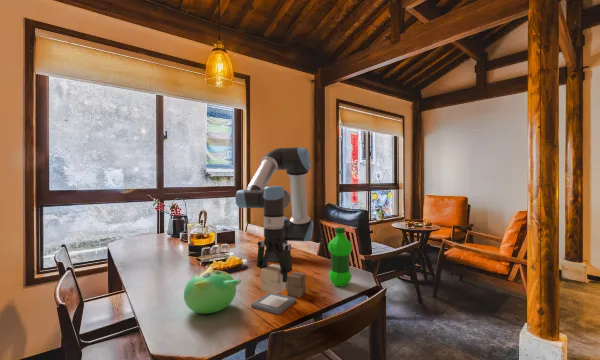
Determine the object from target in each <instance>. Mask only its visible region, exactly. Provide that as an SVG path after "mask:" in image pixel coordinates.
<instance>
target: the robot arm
mask: <svg viewBox="0 0 600 360" xmlns="http://www.w3.org/2000/svg"><path fill="white" fill-rule="evenodd" d="M311 162H312V161H311V154H310V152H309V149H308V148H307V147H298V146H297V147H277V148H274V149H272V150H270V151H269V152H267V153H266V154H265V155H264V156H263V157H262V158H261V160H260V161H259V167H258V169H257V170H256V171H255V173H254V175H253V177H252V178H251V180H250V182H249V184H248V185H247V187H246V188H245V189H239V190H237V191H236V193H235V204H236V206H237V208H243V209H263V227H264V228H263V238H264V240H260V241H258V242H257V248H258V249H257V259H256V268H259V269H260V270H261V269H263V268H265V267H267V266H269V265H268V264H269V262H271V263H272V262H273V263H278V264H279V265H280V268H281V271H282V273H280V291H281V292H280V293H282V292H283V291H285V290H286V289H287V288H286V281H287V276H288V273H290V272H291V273H292V272H293V263H292V255H291V250H292V244H290V243H289V244H288V241H289V242H303V243H304V242H310V241H311V240H312V237H313V230H314V221H313V220H311V216H309V215H308V201H307V200H308V199H307V195H308V194H307V179H306V175H308V174H309V171H310V170H311V168H312V163H311ZM281 170H282V171H286V175H288V177H289V187H290V193H289V192H288V190H285V189H284V186H281V185H270V186H268V184H269V183H270V181H271V179H272V177H273V175H274V174H275V173H276V172H277V171H281ZM290 203H291V204H290ZM289 204H290V205H291V217H290V218H289V220H288V217H285V211H284V210H285V208H287V207H288V206H289Z"/></svg>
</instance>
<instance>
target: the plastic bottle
mask: <svg viewBox="0 0 600 360" xmlns="http://www.w3.org/2000/svg"><path fill="white" fill-rule="evenodd" d="M334 232H335V234H336V236H335V237H333V238H332V239H331V240H330V241H329V242H328V245H327V249H328V251H329V252H330V258H331V259H330V270H329V273H328V277H329V281H331V283H332V284H333V285H334V284H335V285H336V287H339V286H343V287H346V285H347V284H349V283H350V281H351V279H352V273H351V271H350V254H351V253H352V251H353V245H352V242H351V241H350V240H349V239H348V238H347V237H345V233H346V228H345V227H337V226H336V227H335V231H334ZM335 285H334V286H335Z"/></svg>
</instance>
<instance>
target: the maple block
mask: <svg viewBox="0 0 600 360" xmlns="http://www.w3.org/2000/svg"><path fill="white" fill-rule="evenodd" d="M280 273H282V271H281V268H280V265H278V264H273V263H271V264H269V265H267V267H265V268H263V269H261V268H260V291H261V292H266V293H273V294H280V293H282V292H281V291H280ZM286 289H287V281H286Z"/></svg>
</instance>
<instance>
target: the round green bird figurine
mask: <svg viewBox="0 0 600 360" xmlns="http://www.w3.org/2000/svg"><path fill="white" fill-rule="evenodd" d="M241 283H242V280H241V279H234V277H233V276H232V275H231V274H230V273H228V272H226V271H223V270H217V269H216V270H215V269H214V267H213V266H210V267H208V268H207V269H206V270H205V271H202V272H200V273H197V274H196V275H195V276H194V275H193V276H192V278H190V279H189V281H187V283H186V285H185V288H184V291H183V300H184V304H186V306H187V307H188V309H190V310H191V311H192V312H195V313H197V314H204V315H205V314H206V315H207V314H213V313H217V312H219V311H222V310H224V309H225V308H227V307H228V306H229V305H230V304H231V303H232V302H233V300H234V298H235V297H236V294H237V286H238V285H240V284H241Z"/></svg>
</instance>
